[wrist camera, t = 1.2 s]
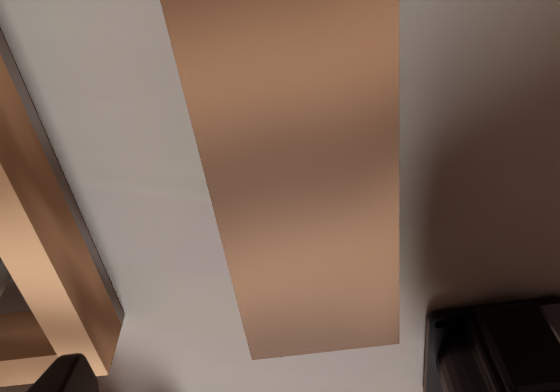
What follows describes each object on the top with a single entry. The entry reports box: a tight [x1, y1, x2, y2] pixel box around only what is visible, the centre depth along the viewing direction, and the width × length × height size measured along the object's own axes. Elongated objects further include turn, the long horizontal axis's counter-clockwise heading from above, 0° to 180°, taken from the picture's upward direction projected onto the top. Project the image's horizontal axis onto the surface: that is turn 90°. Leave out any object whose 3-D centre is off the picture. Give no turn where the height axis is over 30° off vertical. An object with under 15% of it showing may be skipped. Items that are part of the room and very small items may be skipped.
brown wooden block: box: [160, 0, 399, 360], centre depth 16 cm, size 14×5×5 cm, turn 8°
